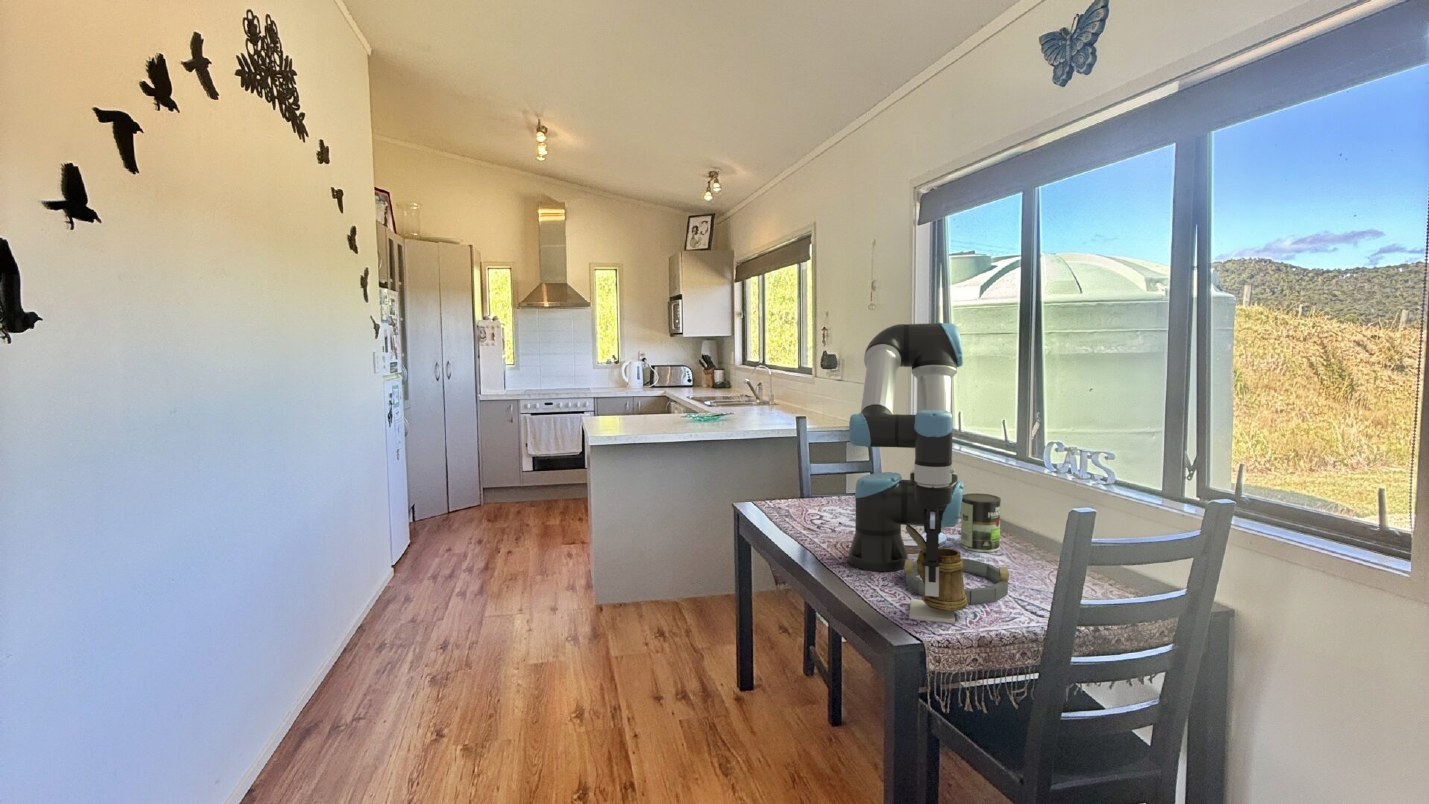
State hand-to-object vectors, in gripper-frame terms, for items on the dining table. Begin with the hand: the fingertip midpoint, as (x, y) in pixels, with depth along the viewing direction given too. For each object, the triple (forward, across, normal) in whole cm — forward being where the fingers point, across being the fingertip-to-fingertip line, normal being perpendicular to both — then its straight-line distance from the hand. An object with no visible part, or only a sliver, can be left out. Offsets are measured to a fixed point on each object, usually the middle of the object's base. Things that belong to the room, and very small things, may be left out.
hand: (932, 589), depth 145 cm
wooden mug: (+3, -1, -1) cm, 3 cm away
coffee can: (+5, +50, -12) cm, 52 cm away
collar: (+5, +18, -5) cm, 19 cm away
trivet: (+5, 0, 0) cm, 5 cm away
